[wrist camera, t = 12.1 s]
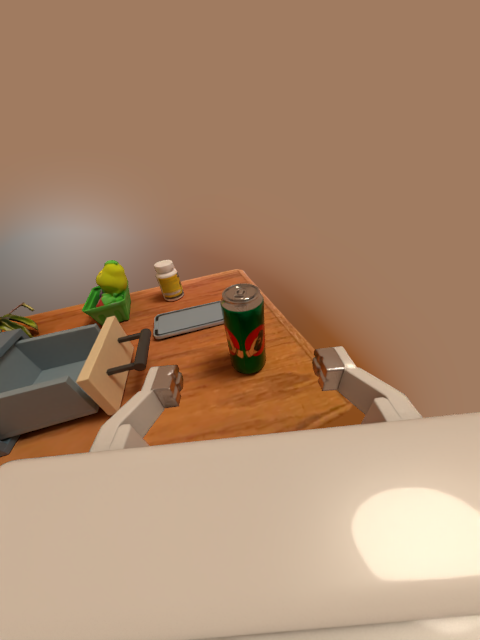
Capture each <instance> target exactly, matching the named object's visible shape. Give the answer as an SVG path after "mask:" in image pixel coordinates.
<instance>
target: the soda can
mask: <svg viewBox="0 0 480 640" xmlns="http://www.w3.org/2000/svg"><path fill="white" fill-rule="evenodd" d="M220 305H221V310H222V315H223V321H224V326H225V331H226V336H227V342H228V347H229V352H230V357H231V363H232V366H233V367H234V369H235V370H237V371H238V372H240V373H244V374H252V373H255V372H257V371H259V370H260V369H262V368H263V366H264V365H265V361H266V355H265V327H264V299H263V296H262V295H261V294H260V290H259V288H258V287H256V286H255V285H252V284H236V285H232V286H230V287H228V288H226V289H225V290H224V291H223V293H222V299H221V302H220Z"/></svg>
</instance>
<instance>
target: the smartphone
mask: <svg viewBox="0 0 480 640" xmlns="http://www.w3.org/2000/svg"><path fill="white" fill-rule="evenodd" d="M220 302H221V301H217V302H212V303H208V304H203V305H199V306H194V307H190V308H186V309H181V310H177V311H172V312H168V313H163V314H159V315H157V316H156V317H155V321H154V337H155V338H156V339H162V338H166V337H170V336H174V335H178V334H182V333H186V332H191V331H195V330H199V329H203V328H207V327H211V326H215V325H219V324H223V323H224V321H223V315H222V310H221V305H220Z"/></svg>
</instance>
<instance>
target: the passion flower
mask: <svg viewBox="0 0 480 640" xmlns="http://www.w3.org/2000/svg"><path fill="white" fill-rule="evenodd" d="M20 306H24V307H27V308H29V309H30V310H31V311H33V310H34V309H33V308H32V307H30V306H28V305H26V304H25V303H22V304H21V305H19V306H18V307H20ZM18 307H16V308H15V309H13V310H12V311H11V312H13V311H14V310H16V309H17V308H18ZM11 312H10V313H11ZM10 313H9V314H7V315H4V316H3V317H0V333H1V332H2V330H5V331H11V330H15V329H20V328H21V329H22V330H23V331H24V332H25V333H26V334H27V335H28V336H29V337H30V338H33V336H32V335H31V334H30V332H29V330H28V329H27V328H26V327H24V326H22V325H19V324H17V323H15V322H11V321H10V320H12V321H17V322H21V323H24V324H26V325H28V326H31V327H33V328H35V329H36V330H37V331H38V328H37V325H36V323H35V322H34V321H33V320H31V319H28V318H25V317H19V316H16V315H12V314H10Z"/></svg>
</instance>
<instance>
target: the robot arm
mask: <svg viewBox="0 0 480 640" xmlns="http://www.w3.org/2000/svg"><path fill="white" fill-rule="evenodd" d="M314 355H315V357H314V358H313V362H312V364H313V370H314V373H315V375H317V376H318V377H319V379H318V382H319V384H320V386H321V389H322V391H328V390H337V391H339V392H340V393H341V394H342V395H343V396H344V397H345V398H347V399H348V400H349V401H350V402H351V403H352V404H354V405H355V406H356V407H357V408H358V409H359V410H361V411H362V412H363V413H364V414H365V417H364V419H363V421H362V423H361V425H351V426H341V427H331V428H321V429H311V430H302V431H292V432H282V433H273V434H263V435H253V436H243V437H234V438H224V439H214V440H205V441H195V442H186V443H176V444H166V445H156V446H149V445H148V444H147V442H146V441H145V440H144V439H143V437H144V436H145V435H146V433H147V432H148V431H149V429H150V428H151V427H152V425H153V424H154V423H155V421H156V420H157V419H158V417H159V416H160V415H161V413H162V412H163V411H164V408H169V407H177V406H179V403H180V399H181V395H180V391H181V390H182V389H183V376H182V374H181V373H180V372H179V367H178V365H168V366H158V367H151V368H150V369H149V372H148V374H147V377H146V379H145V382H144V384H143V387H142V390H141V391H139V392H137V393H136V394H135V395H134V396H133V397H132V398H131V399H130V400H129V401H128V402H127V403H126V404H125V405H123V406H122V407H121V408H120V409H119V410H118V411H117V412H116V413H115V414H114V415H113V416H112V417H111V418H110V419H109V420H107V421H106V422H105V423H104V424H103V425H102V426H101V428H100V430H99V432H98V434H97V436H96V438H95V440H94V442H93V445H92V447H91V449H90V451H89V452H88V453H78V454H69V455H59V456H49V457H39V458H30V459H20V460H13V461H10V462H7V463H5V464H3V465H1V466H0V640H480V412H476V413H466V414H457V415H447V416H438V417H428V418H423V417H422V416H421V415H420V413H419V412H418V411H417V409H416V408H415V407H414V406H413V405H412V403H411V402H410V401H409V399H408V398H407V397H406V396H405V394H403V393H401V392H400V391H398V390H396V389H395V388H393V387H391V386H389V385H388V384H386V383H385V382H383V381H381V380H379V379H378V378H376V377H374V376H373V375H371V374H369V373H368V372H366V371H364V370H363V369H361V368H357V367H356V366H355V364H354V363H353V361H352V360H351V358H350V357H349V355H348V354H347V352H346V351H345V349H344V348H343V347H342V346H339V347H330V348H322V349H315V351H314Z"/></svg>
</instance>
